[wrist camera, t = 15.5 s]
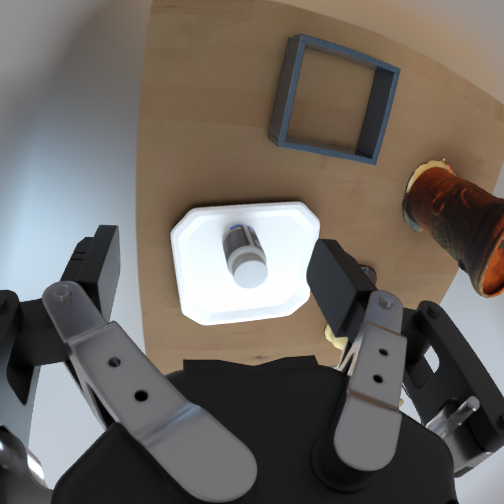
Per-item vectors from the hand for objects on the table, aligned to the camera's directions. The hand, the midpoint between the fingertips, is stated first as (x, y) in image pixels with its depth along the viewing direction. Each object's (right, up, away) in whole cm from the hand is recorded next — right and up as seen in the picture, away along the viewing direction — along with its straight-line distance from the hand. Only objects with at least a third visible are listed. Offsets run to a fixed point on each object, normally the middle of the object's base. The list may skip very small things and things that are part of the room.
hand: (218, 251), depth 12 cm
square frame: (+11, +20, +24) cm, 33 cm away
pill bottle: (0, +2, +30) cm, 30 cm away
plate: (0, -2, +35) cm, 35 cm away
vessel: (+32, +10, +35) cm, 49 cm away
